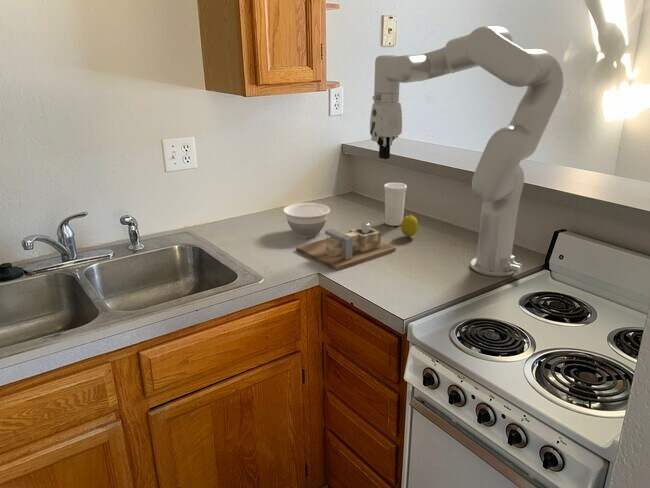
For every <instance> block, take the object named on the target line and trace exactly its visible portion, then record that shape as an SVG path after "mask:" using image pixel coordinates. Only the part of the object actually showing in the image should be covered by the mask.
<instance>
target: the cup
mask: <svg viewBox="0 0 650 488" xmlns="http://www.w3.org/2000/svg"><path fill="white" fill-rule="evenodd" d="M383 189H384V220H385V221H384V223H385V225H388V226H393V227H395V226H396V227H398V226H401V224H402V220H403V219H404V212H405V202H406V201H405V200H406V194H407V193H406V191H407V189H408V187H407V184H405V183H403V182H387V183H385V184H384V185H383Z"/></svg>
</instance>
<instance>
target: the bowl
mask: <svg viewBox="0 0 650 488" xmlns="http://www.w3.org/2000/svg"><path fill="white" fill-rule="evenodd" d="M282 211H283V213H284V214H285V215H286V221H287V223H288V225H289V228H290V229H291V230H292V231H293V232H294V235H295V236H296V237H299V238H307V239H308V238H314V237H317V236H319V235H320V234H321V231H322V230H323V228H324V226H325V225H326V222H327V219H328V214H329V213H330V212H331V208H330V207H329V206H328V205H325V204H322V203H316V202H298V203H293V204H290V205H287V206H285V207H284V208H283V210H282Z"/></svg>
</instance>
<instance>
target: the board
mask: <svg viewBox="0 0 650 488" xmlns="http://www.w3.org/2000/svg"><path fill="white" fill-rule="evenodd" d="M346 233H349V231H348V232H345V233H343V234H346ZM396 249H397V248H396V247H394V246H392V245H390V244H387V243H385V242H383V241H381V242H380V248H376V249H372V250H368V251H364V252H362V251H360V250H356V251H352V259H349V260H344V259H342V254H340V255H336V256H330V255H328V254H326V238H324V239H320V240H317V241H313V242H310V243H306V244H303V245H299V246H296V247H295V251H296V252H298V253H300V254H302V255H303V256H306V257H308V258H310V259H312V260H314V261H316V262H319V263H320V264H322V265H324V266H326V267H329V268H330V269H332V270H334V271H336V272H337V271H340V270H343V269H347V268H349V267H353V266H356V265H358V264H361V263H365V262H367V261H368V262H369V261H370V260H373V259H376V258H379V257H382V256H385V255H389V254H392V253H395V252H396Z"/></svg>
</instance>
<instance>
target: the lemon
mask: <svg viewBox="0 0 650 488" xmlns="http://www.w3.org/2000/svg"><path fill="white" fill-rule="evenodd" d="M400 228H401V230H400V231H401V232H402V234H403V235H405V236H406V237H408V238H411V237H412V236H414V235H416V234H417V231H418V229H419V222H418V220H417V218H416V217H415V216H414V215H412V214H409V215H406V216H405V217H403V220H402V224H401V225H400Z"/></svg>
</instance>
